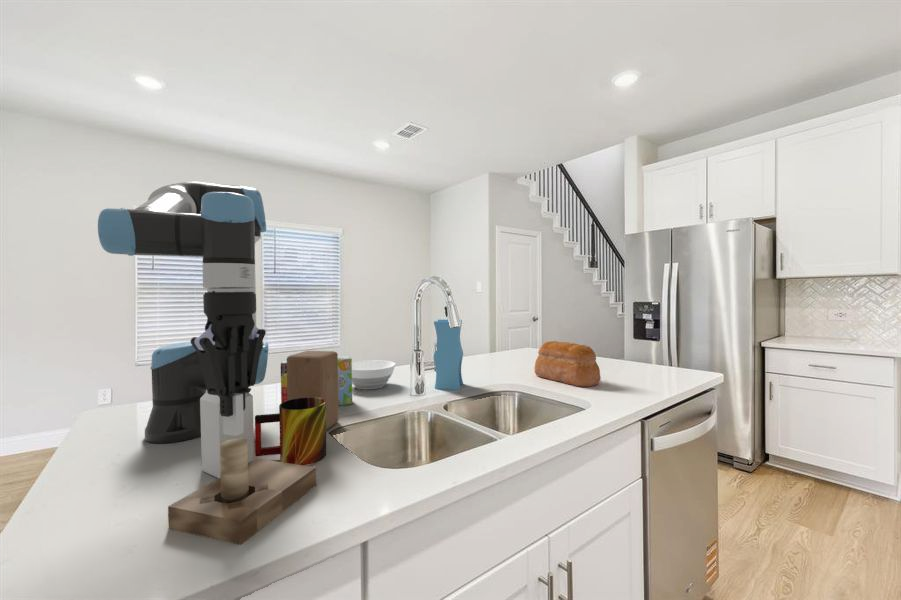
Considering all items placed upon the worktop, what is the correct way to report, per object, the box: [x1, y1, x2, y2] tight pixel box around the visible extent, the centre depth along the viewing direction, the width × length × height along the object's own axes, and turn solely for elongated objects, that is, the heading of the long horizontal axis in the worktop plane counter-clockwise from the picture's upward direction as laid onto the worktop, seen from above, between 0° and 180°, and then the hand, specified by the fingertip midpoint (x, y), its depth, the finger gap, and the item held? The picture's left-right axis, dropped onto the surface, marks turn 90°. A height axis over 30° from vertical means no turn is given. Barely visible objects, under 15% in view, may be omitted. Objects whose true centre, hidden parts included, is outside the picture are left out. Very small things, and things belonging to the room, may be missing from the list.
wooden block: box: [286, 350, 340, 431], centre depth 106 cm, size 10×10×20 cm
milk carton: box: [200, 392, 255, 479], centre depth 82 cm, size 7×7×19 cm
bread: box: [533, 340, 602, 388], centre depth 159 cm, size 14×26×15 cm, turn 34°
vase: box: [433, 318, 464, 391], centre depth 150 cm, size 10×10×25 cm
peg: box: [220, 438, 249, 504], centre depth 65 cm, size 4×4×12 cm
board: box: [167, 458, 317, 545], centre depth 68 cm, size 14×18×4 cm
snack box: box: [280, 355, 353, 407], centre depth 126 cm, size 21×6×15 cm, turn 108°
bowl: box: [352, 359, 396, 391], centre depth 151 cm, size 20×20×8 cm
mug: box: [254, 397, 327, 466], centre depth 87 cm, size 10×14×12 cm
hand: (233, 433), depth 65 cm, fingers closed
